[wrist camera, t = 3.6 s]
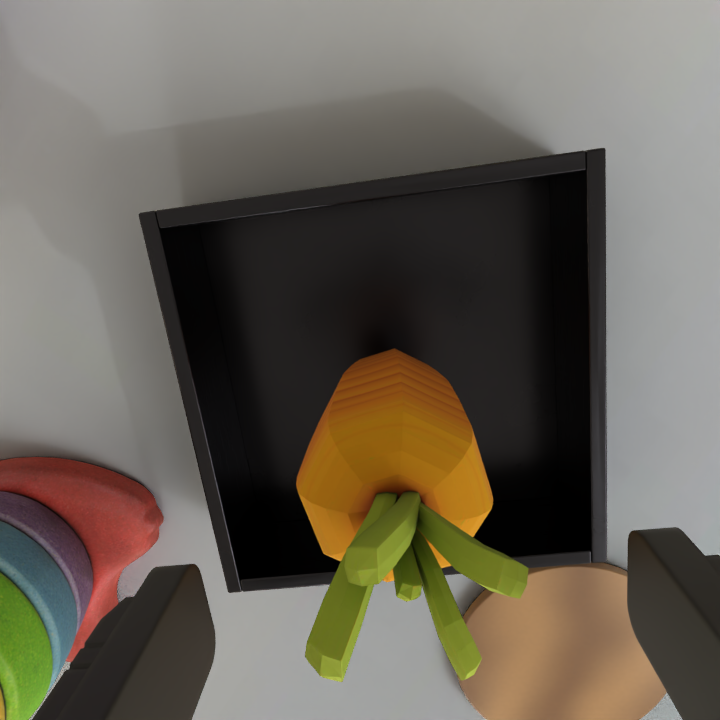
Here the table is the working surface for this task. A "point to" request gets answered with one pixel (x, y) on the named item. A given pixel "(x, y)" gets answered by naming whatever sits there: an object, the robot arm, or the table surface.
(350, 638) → the carrot
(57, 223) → the table surface
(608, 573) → the disc
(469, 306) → the tray
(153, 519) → the stacking bear
